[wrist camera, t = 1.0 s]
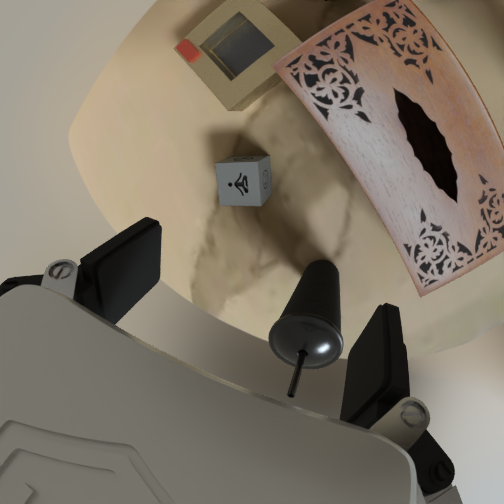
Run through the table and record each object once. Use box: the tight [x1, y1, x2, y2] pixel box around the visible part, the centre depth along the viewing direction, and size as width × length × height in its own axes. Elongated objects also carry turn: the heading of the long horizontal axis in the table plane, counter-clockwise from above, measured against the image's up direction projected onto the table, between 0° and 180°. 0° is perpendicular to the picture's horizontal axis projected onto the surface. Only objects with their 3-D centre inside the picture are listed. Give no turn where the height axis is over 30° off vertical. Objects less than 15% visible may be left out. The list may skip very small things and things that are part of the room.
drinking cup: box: [269, 260, 343, 398], centre depth 30 cm, size 8×8×20 cm
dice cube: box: [215, 155, 272, 206], centre depth 33 cm, size 5×5×5 cm
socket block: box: [174, 0, 302, 111], centre depth 26 cm, size 11×11×5 cm
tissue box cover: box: [271, 0, 504, 297], centre depth 23 cm, size 26×14×10 cm, turn 39°
